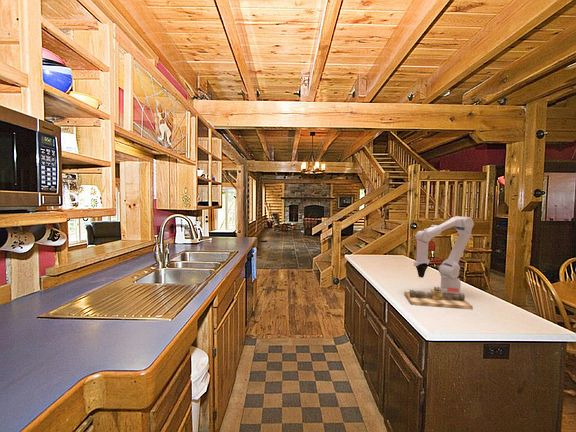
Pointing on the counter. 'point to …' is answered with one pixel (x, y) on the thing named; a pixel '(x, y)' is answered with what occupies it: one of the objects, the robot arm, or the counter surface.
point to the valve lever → (447, 289)
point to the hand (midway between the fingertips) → (421, 277)
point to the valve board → (437, 299)
